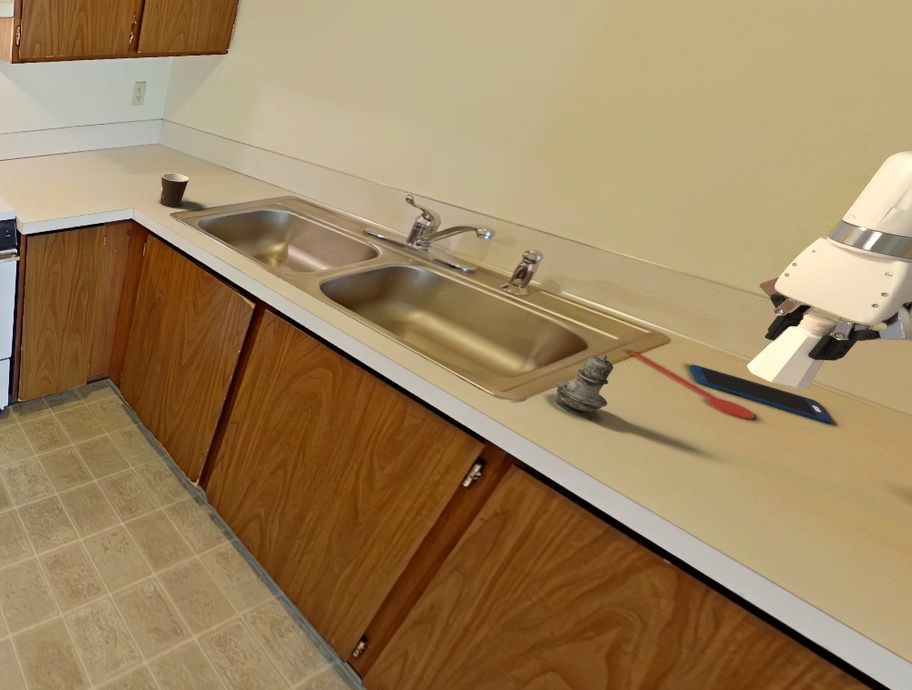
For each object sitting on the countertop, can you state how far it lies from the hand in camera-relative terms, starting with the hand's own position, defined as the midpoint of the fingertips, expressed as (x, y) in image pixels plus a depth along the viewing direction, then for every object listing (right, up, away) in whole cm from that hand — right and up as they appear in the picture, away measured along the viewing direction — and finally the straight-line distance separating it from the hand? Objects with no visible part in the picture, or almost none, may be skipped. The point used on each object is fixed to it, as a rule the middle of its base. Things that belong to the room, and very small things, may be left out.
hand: (799, 347), depth 76 cm
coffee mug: (-51, +22, +102) cm, 116 cm away
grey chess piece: (-18, -15, +14) cm, 27 cm away
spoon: (+11, -13, +19) cm, 25 cm away
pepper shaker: (0, -5, +2) cm, 6 cm away
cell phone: (+20, -14, +17) cm, 30 cm away
